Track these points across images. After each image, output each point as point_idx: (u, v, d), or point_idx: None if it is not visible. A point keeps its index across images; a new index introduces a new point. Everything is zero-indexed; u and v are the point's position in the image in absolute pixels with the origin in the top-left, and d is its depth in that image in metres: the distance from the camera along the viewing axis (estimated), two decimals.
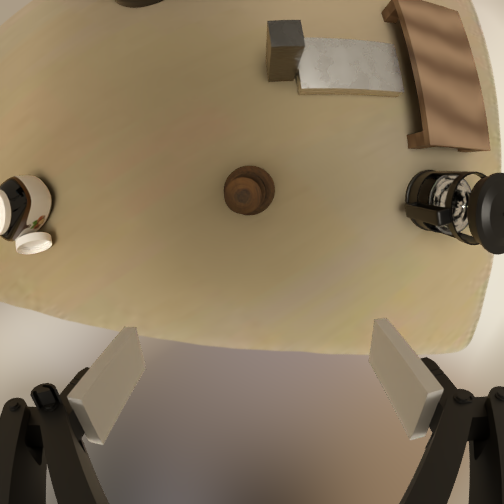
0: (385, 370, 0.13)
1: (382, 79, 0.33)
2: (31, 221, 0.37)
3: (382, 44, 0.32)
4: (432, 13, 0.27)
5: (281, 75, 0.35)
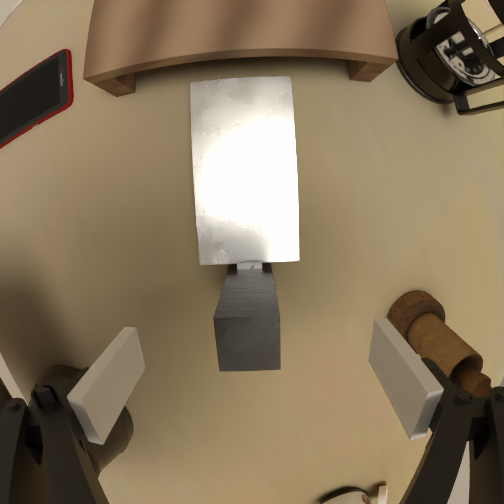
0: (385, 370, 0.13)
1: (270, 113, 0.22)
2: None
3: (194, 104, 0.21)
4: (114, 12, 0.16)
5: None
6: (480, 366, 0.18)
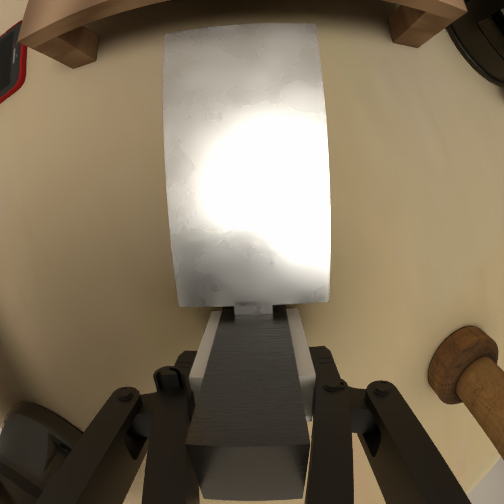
0: None
1: (287, 74, 0.13)
2: None
3: (169, 63, 0.13)
4: None
5: None
6: None
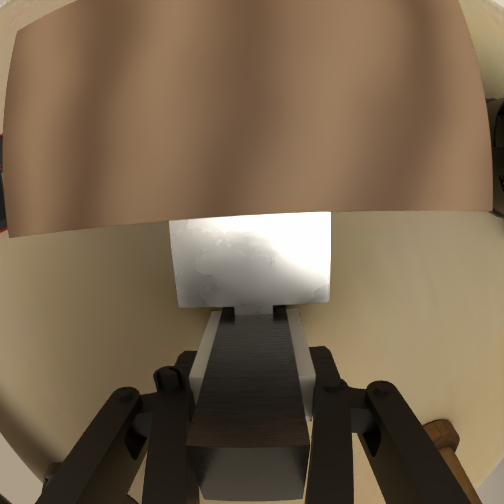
0: None
1: None
2: None
3: None
4: (31, 114, 0.10)
5: None
6: None
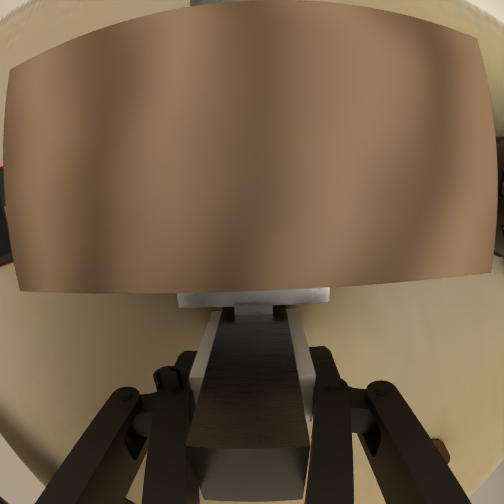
0: None
1: None
2: None
3: None
4: (32, 170, 0.11)
5: None
6: None
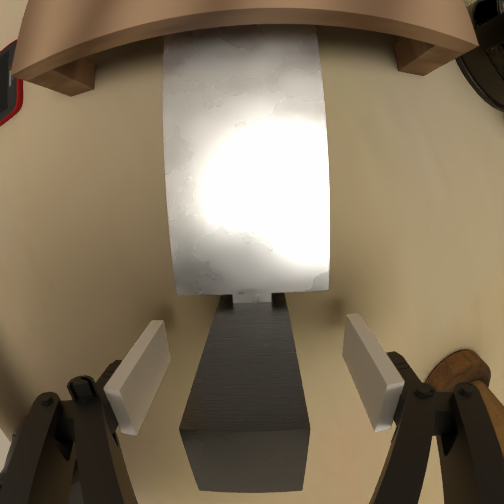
0: (354, 363, 0.14)
1: (285, 62, 0.13)
2: None
3: (169, 52, 0.13)
4: None
5: None
6: None
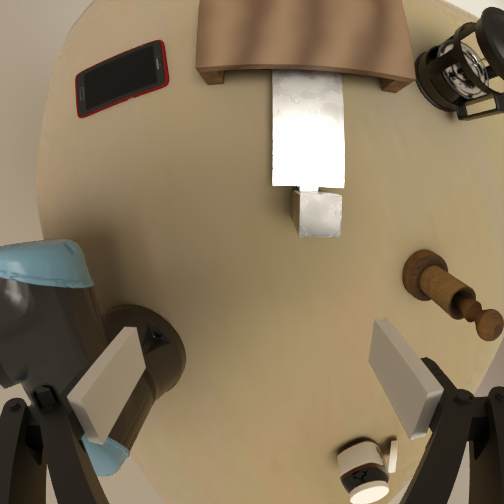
0: (385, 370, 0.13)
1: (327, 87, 0.30)
2: (381, 460, 0.40)
3: (275, 75, 0.30)
4: (218, 22, 0.25)
5: None
6: (474, 300, 0.26)
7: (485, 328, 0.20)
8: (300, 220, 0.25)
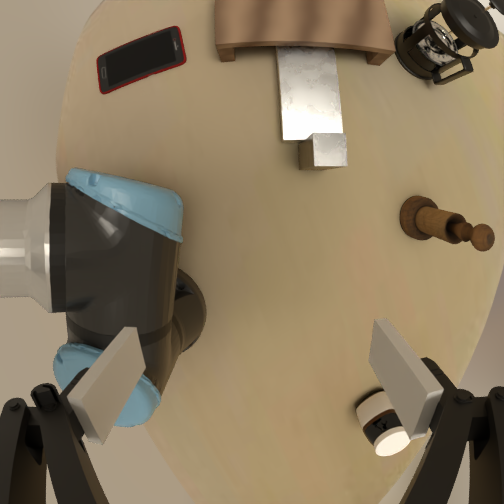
0: (385, 370, 0.13)
1: (323, 60, 0.34)
2: None
3: (280, 51, 0.34)
4: (232, 8, 0.30)
5: None
6: None
7: (479, 237, 0.25)
8: (314, 153, 0.29)
